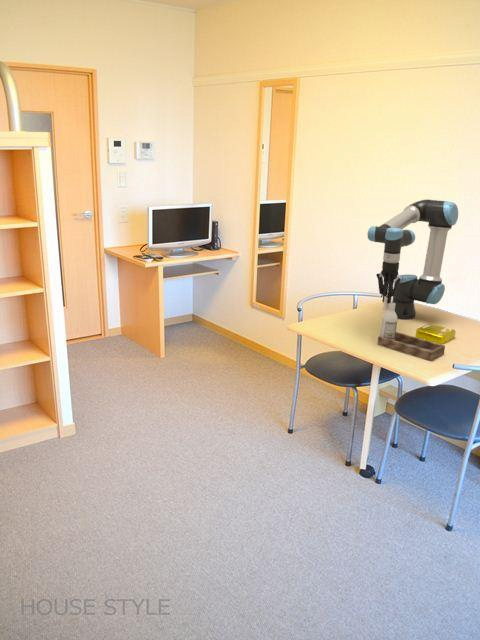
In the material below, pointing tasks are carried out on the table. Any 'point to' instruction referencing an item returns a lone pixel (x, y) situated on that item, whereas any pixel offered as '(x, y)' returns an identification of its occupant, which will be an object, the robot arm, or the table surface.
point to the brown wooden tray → (413, 346)
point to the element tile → (435, 333)
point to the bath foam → (389, 323)
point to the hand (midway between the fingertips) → (385, 309)
